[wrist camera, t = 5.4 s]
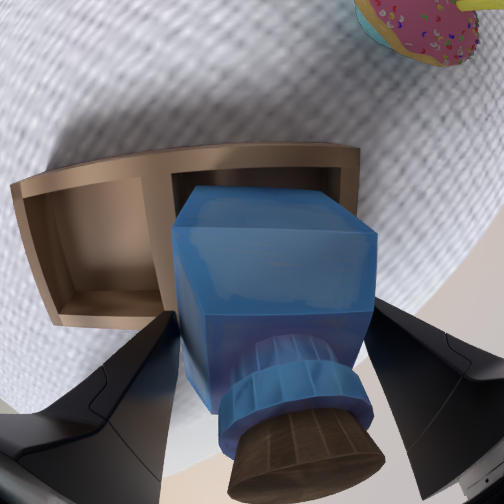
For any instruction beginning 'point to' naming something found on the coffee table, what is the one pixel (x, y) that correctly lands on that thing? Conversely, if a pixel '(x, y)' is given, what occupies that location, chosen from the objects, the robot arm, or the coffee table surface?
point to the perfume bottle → (278, 336)
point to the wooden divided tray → (148, 220)
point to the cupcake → (425, 27)
